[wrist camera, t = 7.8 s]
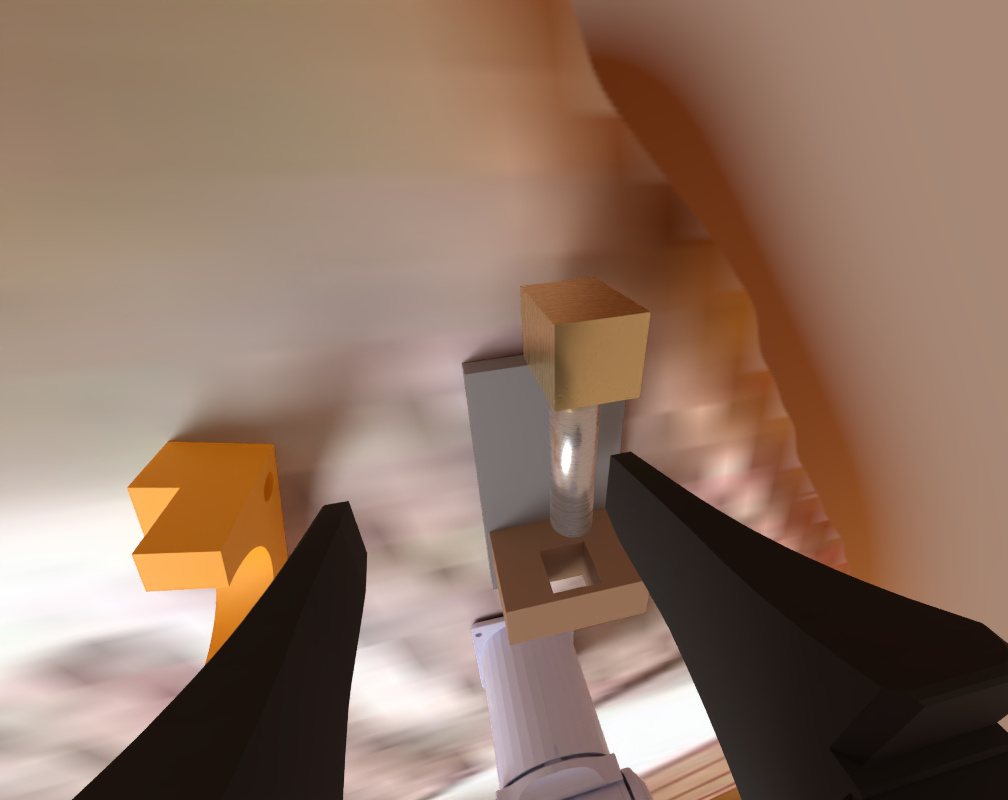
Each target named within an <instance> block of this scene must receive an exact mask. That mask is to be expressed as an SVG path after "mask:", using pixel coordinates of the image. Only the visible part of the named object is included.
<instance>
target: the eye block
mask: <svg viewBox="0 0 1008 800" xmlns="http://www.w3.org/2000/svg"><path fill="white" fill-rule="evenodd" d="M462 367H463V375H464V382H465V389H466V397H467V404H468V411H469V419H470V426H471V433H472V441H473V448H474V456H475V463H476V470H477V478H478V485H479V492H480V500H481V507H482V515H483V522H484V529H485V537H486V544H487V551H488V559H489V566H490V574H491V579H492V584H493V589H497V588H498V590H499V595H500V600H501V605H502V610H503V615H504V620H505V625H506V630H507V635H508V640H509V645H510V646H511V645H515V644H519V643H523V642H527V641H531V640H536V639H540V638H544V637H548V636H552V635H556V634H560V633H564V632H568V631H573V630H577V629H581V628H585V627H589V626H593V625H597V624H601V623H605V622H610V621H614V620H618V619H622V618H626V617H630V616H634V615H638V614H642V613H646V608H647V603H648V598H649V592H648V590H647V588H646V586H645V585H644V583H643V581H642V580H641V578H640V576H639V574H638V573H637V571H636V569H635V568H634V566H633V564H632V562H631V561H630V559H629V557H628V555H627V554H626V552H625V550H624V548H623V546H622V545H621V543H620V541H619V539H618V537H617V535H616V532H615V530H614V528H613V526H612V523H611V521H610V518H609V516H608V513H607V511H606V508H605V503H606V493H607V484H608V474H609V465H610V455H615V454H620V447H621V438H622V428H623V419H624V410H625V401H626V400H621V401H615V402H609V403H603V404H600V415H599V429H598V444H597V458H596V473H595V487H594V502H593V516H592V526H591V529H590V530H589V531H588V532H587V533H586V534H585V535H583V536H580V537H573V538H572V537H566V536H563V535H560V534H559V533H557V532H556V531H555V530H554V529H553V527H552V526H551V522H550V442H549V401H548V399H547V397H546V396H545V394H544V392H543V390H542V389H541V387H540V385H539V383H538V382H537V380H536V378H535V376H534V375H533V373H532V371H531V369H530V368H529V366H528V364H527V362H526V361H525V359H524V357H523V355H517V356H510V357H503V358H496V359H489V360H482V361H476V362H469V363H462ZM579 575H583V578H584V580H585V583H586V585H587V586H585V587H581V588H577V589H572V590H568V591H563V592H559V593H555V594H553V591H552V588H551V585H550V582H552V581H557V580H561V579H566V578H570V577H575V576H579Z"/></svg>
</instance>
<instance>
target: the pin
mask: <svg viewBox="0 0 1008 800" xmlns="http://www.w3.org/2000/svg"><path fill="white" fill-rule="evenodd" d="M520 293H521V314H522V336H523V357H524V359H525V361H526V362H527V364H528V366H529V368H530V369H531V371H532V373H533V375H534V376H535V378H536V380H537V382H538V383H539V385H540V387H541V389H542V390H543V392H544V394H545V396H546V397H547V399H548V401H549V442H550V522H551V526H552V527H553V529H554V530H555V531H556V532H557V533H559V534H560V535H563V536H566V537H572V538H573V537H580V536H583V535H585V534H586V533H587V532H588V531H589V530H590V529H591V526H592V516H593V502H594V487H595V473H596V458H597V444H598V429H599V415H600V404H603V403H609V402H615V401H621V400H627V399H633V398H639V397H640V391H641V383H642V376H643V368H644V360H645V352H646V344H647V337H648V329H649V321H650V313H651V312H650V311H648V310H646V309H645V308H643V307H642V306H640V305H638V304H637V303H635V302H634V301H632V300H630V299H629V298H627V297H626V296H624V295H622V294H621V293H619V292H617V291H616V290H614V289H613V288H611V287H609V286H608V285H606V284H605V283H603V282H601V281H600V280H598V279H596V278H595V277H592V278H583V279H575V280H567V281H559V282H551V283H543V284H535V285H526V286H520Z"/></svg>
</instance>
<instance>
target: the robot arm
mask: <svg viewBox="0 0 1008 800" xmlns="http://www.w3.org/2000/svg"><path fill="white" fill-rule="evenodd" d="M605 508H606V511H607V513H608V516H609V518H610V521H611V523H612V526H613V528H614V530H615V532H616V535H617V537H618V539H619V541H620V543H621V545H622V546H623V548H624V550H625V552H626V554H627V555H628V557H629V559H630V561H631V562H632V564H633V566H634V568H635V569H636V571H637V573H638V574H639V576H640V578H641V580H642V581H643V583H644V585H645V586H646V588H647V590H648V592H649V593H650V595H651V597H652V599H653V600H654V602H655V604H656V605H657V607H658V609H659V611H660V612H661V614H662V616H663V618H664V620H665V622H666V624H667V626H668V627H669V629H670V631H671V634H672V636H673V638H674V640H675V642H676V644H677V646H678V649H679V651H680V653H681V655H682V657H683V659H684V662H685V664H686V666H687V668H688V670H689V673H690V675H691V677H692V680H693V682H694V684H695V686H696V689H697V691H698V693H699V695H700V698H701V700H702V702H703V705H704V707H705V709H706V712H707V714H708V716H709V719H710V721H711V724H712V726H713V729H714V731H715V733H716V736H717V738H718V741H719V743H720V745H721V748H722V750H723V753H724V755H725V758H726V760H727V763H728V765H729V768H730V771H731V773H732V776H733V778H734V781H735V783H736V786H737V789H738V791H739V794H740V796H741V799H742V800H1008V732H1007V731H1006V730H1005V729H1003V728H1002V727H1001V726H1000V725H999V724H998V723H997V722H998V721H999V720H1001V719H1002V718H1003V717H1005V716H1006V715H1007V714H1008V643H1007V642H1005V641H1004V640H1003V639H1001V638H1000V637H999V636H998V635H997V634H995V633H994V632H993V631H992V630H990V629H989V628H988V627H987V626H985V625H984V624H982V623H980V622H977V621H974V620H971V619H968V618H965V617H962V616H959V615H956V614H953V613H950V612H947V611H944V610H941V609H938V608H936V607H932V606H929V605H926V604H924V603H921V602H918V601H915V600H912V599H909V598H906V597H903V596H901V595H898V594H895V593H893V592H890V591H887V590H885V589H882V588H880V587H877V586H874V585H872V584H869V583H867V582H864V581H861V580H859V579H857V578H854V577H852V576H849V575H847V574H845V573H842V572H840V571H837V570H835V569H833V568H831V567H828V566H826V565H824V564H822V563H819V562H817V561H815V560H813V559H810V558H808V557H806V556H804V555H801V554H799V553H797V552H795V551H793V550H791V549H789V548H787V547H785V546H783V545H781V544H779V543H777V542H775V541H773V540H771V539H769V538H767V537H765V536H763V535H761V534H760V533H758V532H756V531H754V530H752V529H750V528H748V527H747V526H745V525H743V524H741V523H739V522H738V521H736V520H734V519H733V518H731V517H729V516H728V515H726V514H724V513H722V512H721V511H719V510H717V509H716V508H714V507H713V506H711V505H709V504H708V503H706V502H705V501H703V500H701V499H700V498H698V497H697V496H695V495H694V494H692V493H691V492H689V491H688V490H686V489H685V488H683V487H682V486H680V485H679V484H677V483H676V482H674V481H673V480H671V479H670V478H668V477H667V476H665V475H664V474H663V473H661V472H660V471H658V470H657V469H655V468H654V467H652V466H651V465H650V464H648V463H647V462H645V461H644V460H642V459H641V458H639V457H638V456H636V455H635V454H633V453H632V452H626V453H621V454H615V455H610V465H609V474H608V484H607V493H606V503H605ZM366 572H367V552H366V549H365V546H364V543H363V540H362V538H361V535H360V532H359V529H358V526H357V523H356V521H355V518H354V515H353V512H352V509H351V506H350V504H349V501H346V502H340V503H335V504H329V505H324V506H323V507H322V509H321V510H320V512H319V513H318V515H317V516H316V518H315V519H314V521H313V522H312V524H311V525H310V527H309V528H308V530H307V531H306V533H305V534H304V536H303V538H302V539H301V541H300V542H299V544H298V545H297V547H296V548H295V550H294V551H293V553H292V554H291V555H290V557H289V558H288V560H287V561H286V563H285V564H284V565H283V567H282V568H281V570H280V571H279V573H278V574H277V575H276V577H275V578H274V580H273V581H272V582H271V584H270V585H269V587H268V588H267V589H266V591H265V592H264V593H263V595H262V596H261V597H260V598H259V600H258V601H257V602H256V604H255V605H254V606H253V608H252V609H251V610H250V612H249V613H248V614H247V616H246V617H245V618H244V619H243V621H242V622H241V623H240V624H239V626H238V627H237V628H236V629H235V631H234V632H233V633H232V634H231V636H230V637H229V638H228V639H227V640H226V642H225V643H224V644H223V645H222V646H221V648H220V649H219V650H218V651H217V652H216V653H215V655H214V656H213V657H212V658H211V659H210V660H209V661H208V663H207V664H206V665H205V666H204V667H203V668H202V669H201V671H200V672H199V673H198V674H197V675H196V676H195V677H194V678H193V679H192V680H191V682H190V683H189V684H188V685H187V686H186V687H185V688H184V689H183V690H182V691H181V692H180V693H179V694H178V695H177V697H176V698H175V699H174V700H173V701H172V702H171V703H170V704H169V705H168V706H167V707H166V708H165V709H164V710H163V711H162V712H161V713H160V714H159V715H158V716H157V717H156V718H155V720H154V721H153V722H152V723H151V724H150V725H149V726H148V727H147V728H146V729H145V730H144V731H143V732H142V733H141V734H140V735H139V736H138V737H137V738H136V739H135V740H134V741H133V742H132V743H131V744H130V745H129V746H128V747H127V748H126V749H125V750H124V751H123V752H122V753H121V754H120V755H119V756H117V757H116V758H115V759H114V760H113V761H112V762H111V763H110V764H109V765H108V766H107V767H106V768H105V769H104V770H103V771H102V772H101V773H100V774H99V775H98V776H97V777H96V778H94V779H93V780H92V781H91V782H90V783H89V784H88V785H87V786H86V787H85V788H84V789H83V790H82V791H81V792H80V793H79V794H77V795H76V796H75V797H74V798H73V799H72V800H343V788H344V769H345V752H346V737H347V722H348V708H349V699H350V691H351V683H352V677H353V670H354V664H355V658H356V651H357V645H358V639H359V632H360V626H361V620H362V613H363V606H364V600H365V593H366ZM471 633H472V638H473V643H474V648H475V653H476V658H477V663H478V668H479V673H480V678H481V683H482V687H483V688H484V689H486V693H487V700H488V707H489V714H490V722H491V729H492V736H493V743H494V750H495V757H496V765H497V772H498V779H499V786H500V790H498V791H496V800H653V798H652V796H651V794H650V792H649V790H648V788H647V786H646V784H645V782H644V781H643V779H642V778H641V777H639V776H638V775H637V774H635V773H634V772H633V771H632V770H631V769H630V768H624V769H621V771H620V768H619V765H618V762H617V759H616V756H615V754H614V753H612V754H610V753H609V750H608V747H607V744H606V741H605V738H604V735H603V732H602V729H601V726H600V723H599V720H598V717H597V714H596V711H595V708H594V705H593V702H592V699H591V696H590V693H589V690H588V687H587V684H586V681H585V678H584V675H583V672H582V669H581V666H580V663H579V660H578V657H577V654H576V651H575V648H574V645H573V639H574V630H573V631H568V632H564V633H560V634H556V635H552V636H548V637H544V638H540V639H536V640H531V641H527V642H523V643H519V644H515V645H511V646H510V645H509V640H508V635H507V630H506V625H505V620H504V617H499V618H495V619H491V620H486V621H482V622H478V623H475V624H473V625H472V626H471Z"/></svg>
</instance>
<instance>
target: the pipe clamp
mask: <svg viewBox="0 0 1008 800" xmlns="http://www.w3.org/2000/svg"><path fill="white" fill-rule="evenodd" d="M127 489H128V492H129V495H130V497H131V500H132V503H133V506H134V509H135V511H136V514H137V517H138V520H139V523H140V525H141V528H142V531H143V534H144V538H143V539H142V541H141V542H140V544H139V545H138V546H137V548H136V549H135V551H134V552H133V553H132V557H133V559H134V562H135V564H136V567H137V569H138V572H139V575H140V577H141V580H142V582H143V585H144V587H145V590H146V592H148V591H166V590H184V589H202V588H216V612H215V621H214V627H213V633H212V638H211V643H210V648H209V652H208V656H207V660H206V664H207V663H208V661H209V660H210V659H211V658H212V657H213V656H214V655H215V653H216V652H217V651H218V650H219V649H220V648H221V646H222V645H223V644H224V643H225V642H226V640H227V639H228V638H229V637H230V636H231V634H232V633H233V632H234V631H235V629H236V628H237V627H238V626H239V624H240V623H241V622H242V621H243V619H244V618H245V617H246V616H247V614H248V613H249V612H250V610H251V609H252V608H253V606H254V605H255V604H256V602H257V601H258V600H259V598H260V597H261V596H262V595H263V593H264V592H265V591H266V589H267V588H268V587H269V585H270V584H271V582H272V581H273V580H274V578H275V577H276V575H277V574H278V573H279V571H280V570H281V568H282V567H283V565H284V564H285V563H286V561H287V560H288V556H287V548H286V540H285V531H284V523H283V515H282V506H281V498H280V490H279V481H278V473H277V465H276V456H275V448H274V444H248V443H209V442H170V441H168V442H167V443H166V444H165V446H164V447H163V448H162V449H161V450H160V451H159V452H158V453H157V455H156V456H155V457H154V458H153V459H152V460H151V461H150V462H149V464H148V465H147V466H146V467H145V468H144V469H143V470H142V472H141V473H140V474H139V475H138V476H137V477H136V478H135V479H134V481H133V482H132V483H131V484H130V485H129V486H128V487H127ZM206 664H205V665H206Z"/></svg>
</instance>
